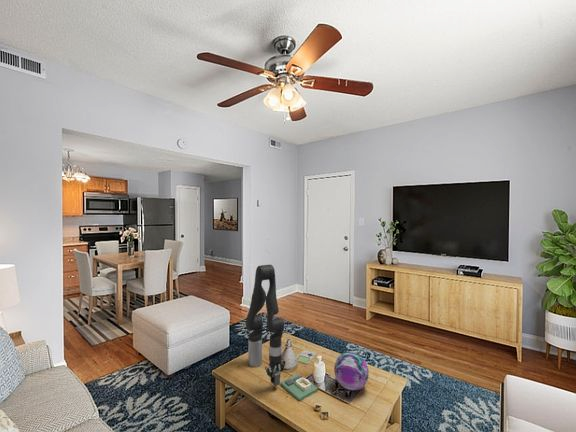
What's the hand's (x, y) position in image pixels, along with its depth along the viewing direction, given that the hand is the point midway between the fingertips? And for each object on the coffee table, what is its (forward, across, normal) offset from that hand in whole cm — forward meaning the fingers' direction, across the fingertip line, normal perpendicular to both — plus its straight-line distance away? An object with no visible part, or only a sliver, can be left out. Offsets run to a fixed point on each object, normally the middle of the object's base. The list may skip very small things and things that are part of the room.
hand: (275, 380), depth 162 cm
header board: (+4, -11, +8) cm, 15 cm away
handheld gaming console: (+6, -36, -14) cm, 39 cm away
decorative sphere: (+4, -36, +28) cm, 46 cm away
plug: (+2, 0, 0) cm, 2 cm away
